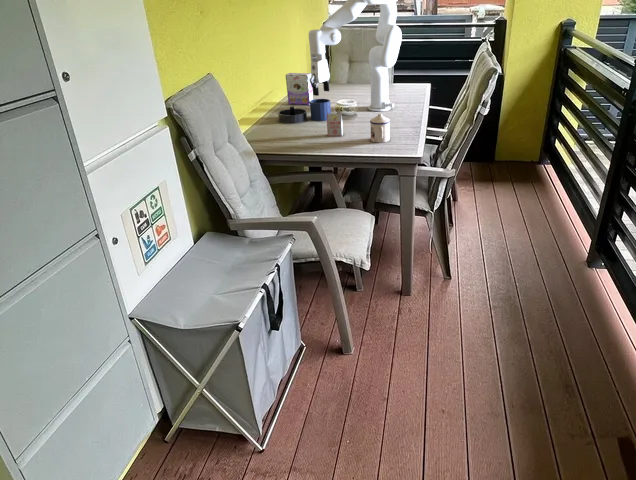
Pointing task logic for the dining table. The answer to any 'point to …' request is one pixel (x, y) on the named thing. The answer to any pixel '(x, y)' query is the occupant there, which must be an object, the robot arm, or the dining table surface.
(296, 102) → the candy box
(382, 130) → the teacup with lid
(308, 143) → the dining table surface
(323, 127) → the dining table surface
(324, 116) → the pot
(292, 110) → the lid
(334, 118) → the white printed carton
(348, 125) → the dining table surface
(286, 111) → the pan
